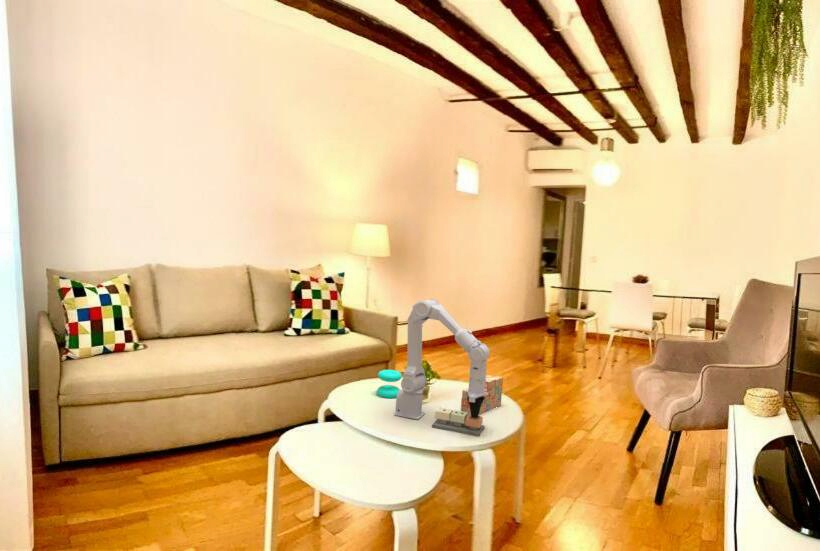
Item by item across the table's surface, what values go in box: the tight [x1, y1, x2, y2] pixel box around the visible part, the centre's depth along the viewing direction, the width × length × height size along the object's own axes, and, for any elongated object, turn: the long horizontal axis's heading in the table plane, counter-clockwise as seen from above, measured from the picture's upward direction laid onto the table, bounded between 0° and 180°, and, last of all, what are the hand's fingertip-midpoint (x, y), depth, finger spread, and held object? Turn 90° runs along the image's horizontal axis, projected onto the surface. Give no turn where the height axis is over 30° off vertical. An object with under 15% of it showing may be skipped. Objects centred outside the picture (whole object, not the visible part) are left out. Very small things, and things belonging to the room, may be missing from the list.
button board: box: [431, 418, 485, 437], centre depth 182 cm, size 17×9×3 cm, turn 70°
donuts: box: [376, 369, 403, 399], centre depth 215 cm, size 10×10×10 cm
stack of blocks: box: [460, 374, 504, 416], centre depth 204 cm, size 21×6×12 cm, turn 141°
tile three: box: [465, 414, 484, 428], centre depth 180 cm, size 5×5×3 cm
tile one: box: [434, 407, 454, 421], centre depth 183 cm, size 5×5×3 cm
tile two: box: [450, 409, 468, 423], centre depth 181 cm, size 5×5×3 cm
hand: (474, 417), depth 180 cm, fingers closed, pressing on tile three
